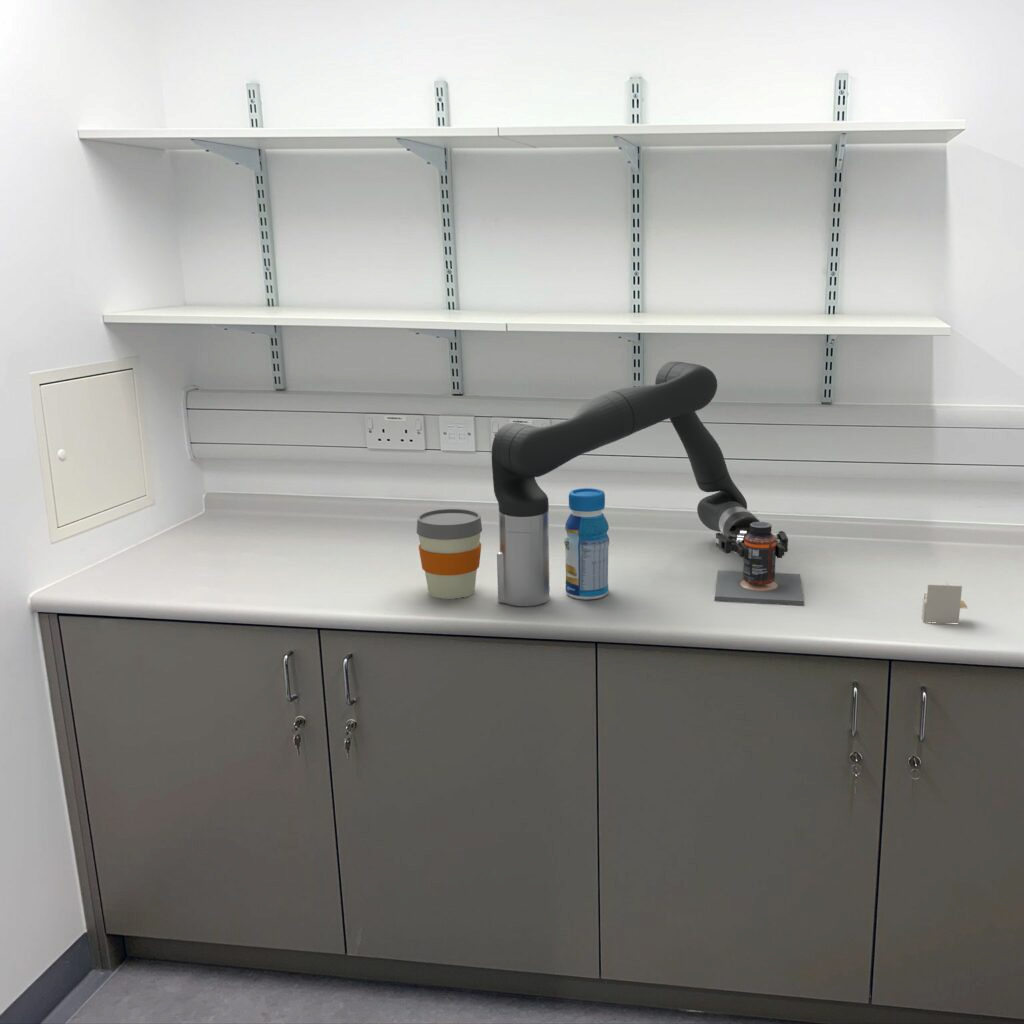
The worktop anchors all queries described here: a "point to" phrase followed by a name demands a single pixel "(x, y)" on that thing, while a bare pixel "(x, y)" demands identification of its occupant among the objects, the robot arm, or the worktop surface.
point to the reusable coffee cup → (450, 551)
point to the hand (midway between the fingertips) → (763, 553)
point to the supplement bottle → (760, 554)
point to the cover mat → (759, 589)
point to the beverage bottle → (586, 545)
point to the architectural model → (942, 604)
